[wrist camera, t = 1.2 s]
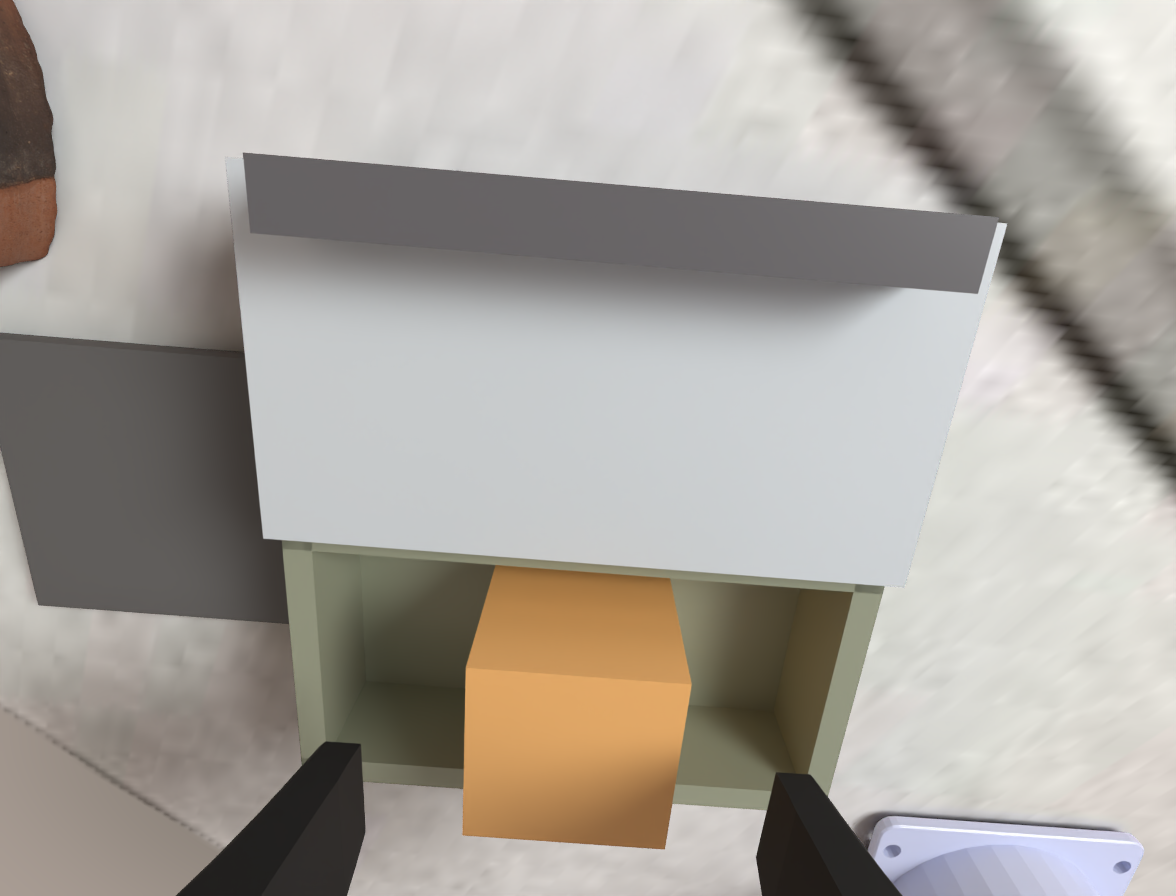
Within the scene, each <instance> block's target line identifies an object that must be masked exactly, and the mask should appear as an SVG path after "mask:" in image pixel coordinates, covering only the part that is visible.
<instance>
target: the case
mask: <svg viewBox="0 0 1176 896" xmlns="http://www.w3.org/2000/svg"><path fill="white" fill-rule="evenodd" d="M282 549H283V560H284V571H285V582H286V594H287V605H288V616H289V627H290V638H291V649H292V661H293V672H294V683H295V694H296V705H297V716H298V728H299V739H300V750H301V761H302V765H303V764H304V763H305V762H306V761H307V760H308V758H309V757H310V756H311V755H312V754H313V753H314V752H315V751H316V749H317V748H318V747H319V746H320V745H322V744H323V743H324V742H325V741H328V742H343V743H357V744H361V753H362V773H363V782H375V783H389V784H403V785H417V786H432V787H446V788H460V789H463V784H464V733H465V681H466V665H467V662H468V658H469V655H470V651H471V648H472V645H473V641H474V638H475V634H476V631H477V627H478V624H479V620H480V617H481V613H482V610H483V607H484V603H485V600H486V596H487V593H488V589H489V586H490V582H491V579H492V575H493V572H494V569H495V565H503V566H516V567H529V568H542V569H556V570H569V571H582V572H595V573H608V574H621V575H634V576H647V577H660V578H670V580H671V585H672V590H673V595H674V600H675V605H676V610H677V615H678V620H679V625H680V629H681V634H682V639H683V644H684V649H685V654H686V659H687V664H688V669H689V674H690V678H691V683H692V686H691V692H690V698H689V704H688V710H687V716H686V723H685V729H684V735H683V741H682V747H681V753H680V759H679V765H678V771H677V778H676V784H675V790H674V796H673V802H672V804H686V805H700V806H714V807H728V808H742V809H756V810H767V808H768V804H769V800H770V795H771V791H772V787H773V782H774V778H775V774H776V772H781V773H796V774H810V775H811V776H812V777H813V778H814V779H815V780H816V782H817V783H818V784H819V786H820V787H821V789H822V790H823V791H824V793H825V794H826V795H827V797H828V794H829V790H830V787H831V783H832V779H833V776H834V772H835V768H836V764H837V761H838V757H839V753H840V750H841V746H842V742H843V739H844V735H845V731H846V727H847V724H848V720H849V716H850V713H851V709H852V705H853V701H854V698H855V694H856V690H857V687H858V683H859V679H860V676H861V672H862V668H863V664H864V661H865V657H866V653H867V650H868V646H869V642H870V638H871V635H872V631H873V627H874V624H875V620H876V616H877V613H878V609H879V605H880V601H881V598H882V594H883V590H884V587H885V586H877V585H864V584H851V583H838V582H825V581H812V580H799V579H786V578H772V577H759V576H746V575H733V574H720V573H707V572H694V571H681V570H668V569H655V568H642V567H629V566H616V565H602V564H589V563H576V562H563V561H550V560H537V559H524V558H511V557H498V556H485V555H472V554H459V553H446V552H433V551H419V550H406V549H393V548H380V547H367V546H354V545H341V544H328V543H315V542H302V541H289V540H282Z"/></svg>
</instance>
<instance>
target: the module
mask: <svg viewBox="0 0 1176 896" xmlns="http://www.w3.org/2000/svg"><path fill="white" fill-rule="evenodd" d="M691 686H692V683H691V678H690V674H689V669H688V664H687V659H686V654H685V649H684V644H683V639H682V634H681V629H680V625H679V620H678V615H677V610H676V605H675V600H674V595H673V590H672V585H671V580H670V578H660V577H647V576H634V575H621V574H608V573H595V572H582V571H569V570H556V569H542V568H529V567H516V566H503V565H495V569H494V572H493V575H492V579H491V582H490V586H489V589H488V593H487V596H486V600H485V603H484V607H483V610H482V613H481V617H480V620H479V624H478V627H477V631H476V634H475V638H474V641H473V645H472V648H471V651H470V655H469V658H468V662H467V665H466V681H465V733H464V784H463V835H465V836H480V837H494V838H508V839H523V840H537V841H551V842H566V843H580V844H594V845H609V846H623V847H637V848H652V849H665V845H666V839H667V832H668V826H669V820H670V814H671V808H672V802H673V796H674V790H675V784H676V778H677V771H678V765H679V759H680V753H681V747H682V741H683V735H684V729H685V723H686V716H687V710H688V704H689V698H690V692H691Z"/></svg>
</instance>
